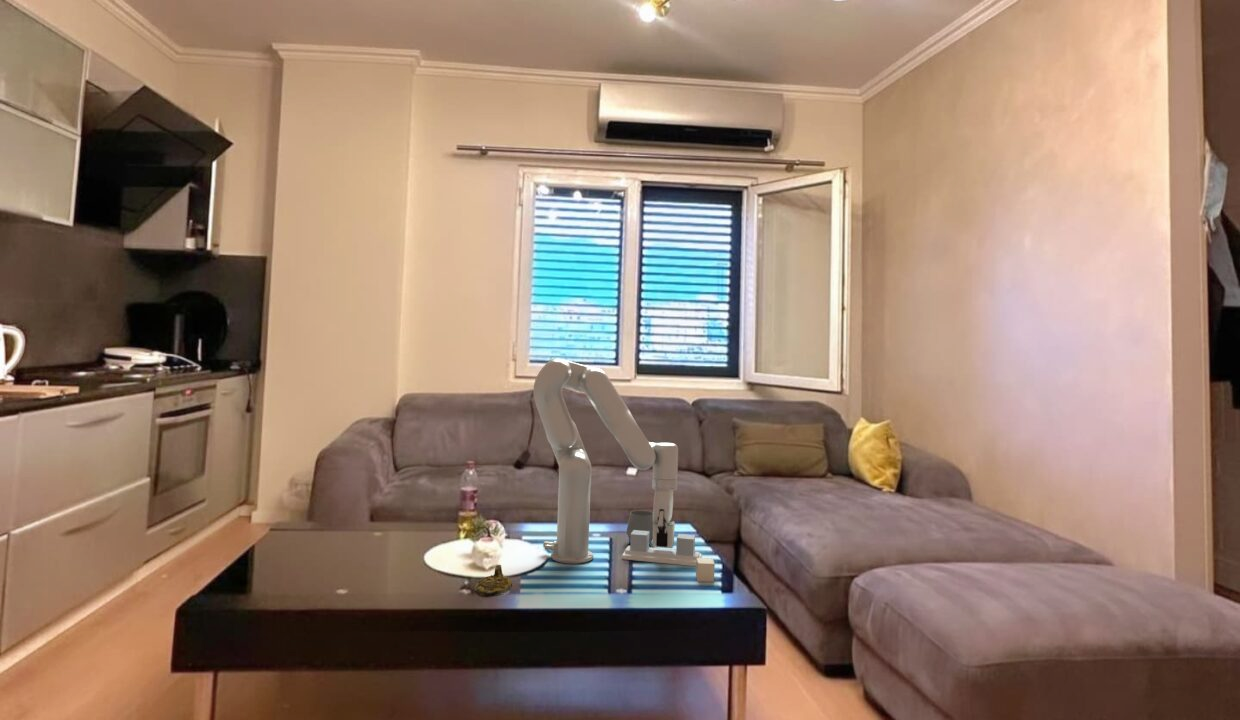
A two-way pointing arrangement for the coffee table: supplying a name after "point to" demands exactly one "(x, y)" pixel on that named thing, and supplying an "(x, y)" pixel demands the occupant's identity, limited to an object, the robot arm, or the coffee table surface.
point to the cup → (640, 523)
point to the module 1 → (669, 530)
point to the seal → (493, 583)
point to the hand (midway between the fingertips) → (663, 543)
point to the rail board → (661, 550)
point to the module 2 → (705, 569)
